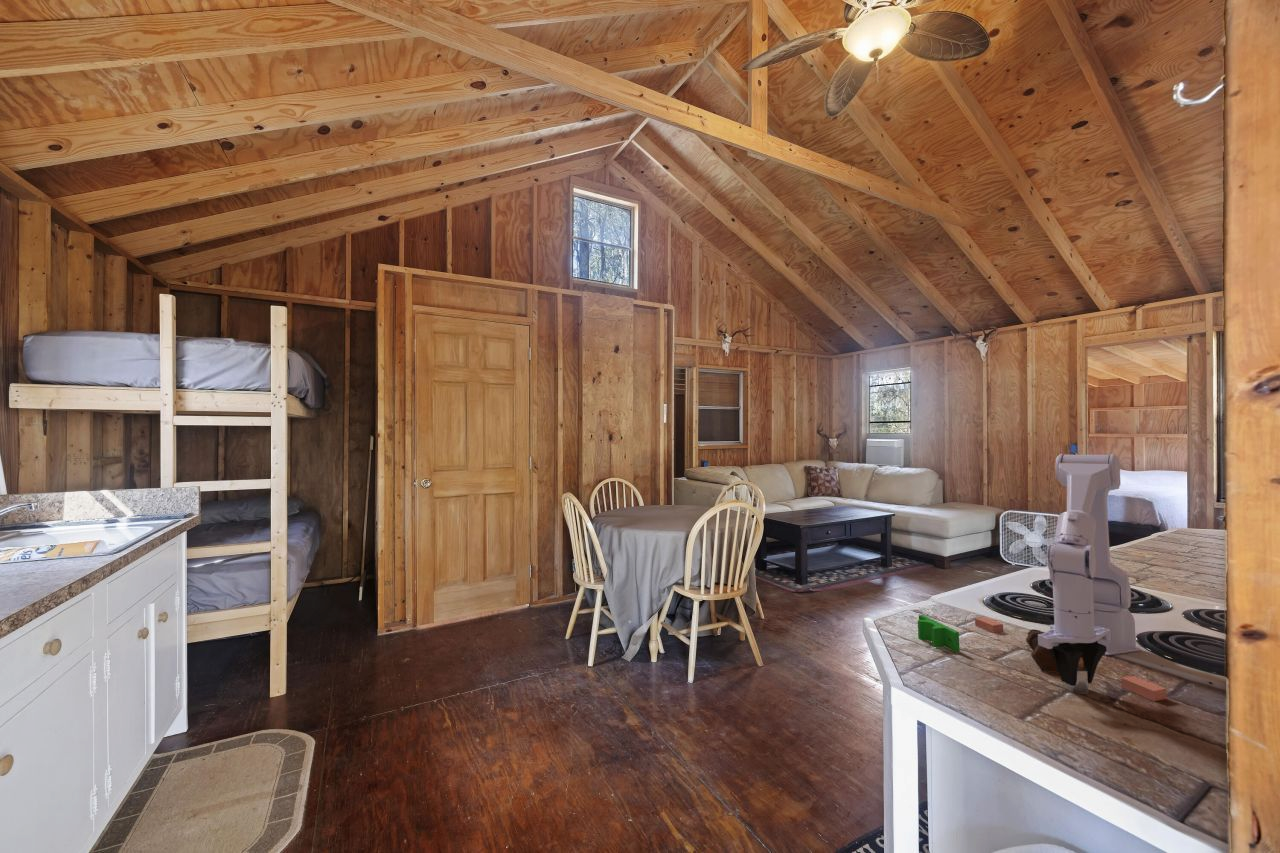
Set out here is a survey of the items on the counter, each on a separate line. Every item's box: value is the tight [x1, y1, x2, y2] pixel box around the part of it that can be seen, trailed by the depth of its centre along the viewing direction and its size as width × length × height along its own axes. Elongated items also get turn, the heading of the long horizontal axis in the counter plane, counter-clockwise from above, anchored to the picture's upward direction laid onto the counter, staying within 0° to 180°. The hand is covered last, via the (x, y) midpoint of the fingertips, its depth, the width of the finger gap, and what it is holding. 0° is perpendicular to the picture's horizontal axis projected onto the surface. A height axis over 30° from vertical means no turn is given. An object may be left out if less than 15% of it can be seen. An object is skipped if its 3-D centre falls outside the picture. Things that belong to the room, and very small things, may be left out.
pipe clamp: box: [917, 614, 961, 653], centre depth 116 cm, size 11×4×5 cm, turn 9°
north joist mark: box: [1120, 675, 1168, 702], centre depth 92 cm, size 3×5×2 cm, turn 12°
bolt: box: [1025, 628, 1059, 674], centre depth 108 cm, size 6×5×15 cm
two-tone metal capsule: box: [1064, 655, 1089, 695], centre depth 94 cm, size 3×3×6 cm
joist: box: [974, 616, 1004, 634], centre depth 123 cm, size 3×5×2 cm, turn 12°
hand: (1076, 681), depth 94 cm, fingers closed on two-tone metal capsule, 3 cm apart
